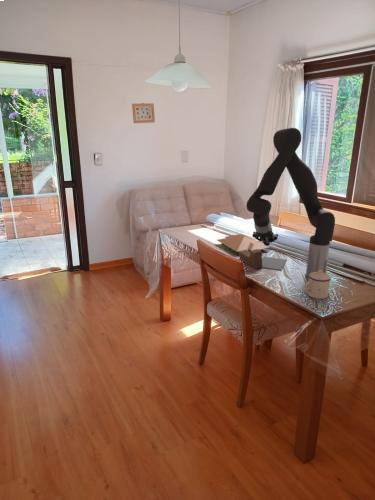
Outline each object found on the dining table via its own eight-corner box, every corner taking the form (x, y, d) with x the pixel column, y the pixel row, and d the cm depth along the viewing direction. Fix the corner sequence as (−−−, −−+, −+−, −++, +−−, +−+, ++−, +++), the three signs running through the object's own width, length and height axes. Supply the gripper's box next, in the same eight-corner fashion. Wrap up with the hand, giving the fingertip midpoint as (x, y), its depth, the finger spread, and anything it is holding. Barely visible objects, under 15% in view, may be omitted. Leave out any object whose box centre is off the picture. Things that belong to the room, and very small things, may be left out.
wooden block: (261, 251, 190) (245, 241, 206) (253, 253, 188) (238, 243, 205) (262, 267, 193) (246, 256, 209) (255, 269, 192) (239, 258, 208)
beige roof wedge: (239, 258, 209) (239, 244, 207) (213, 242, 238) (213, 230, 236) (272, 253, 218) (273, 240, 215) (244, 239, 247) (244, 227, 244)
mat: (286, 260, 205) (286, 259, 205) (281, 270, 190) (281, 269, 190) (263, 257, 210) (263, 256, 210) (256, 266, 195) (256, 266, 195)
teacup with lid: (318, 289, 167) (321, 265, 164) (333, 297, 159) (336, 272, 156) (297, 293, 163) (299, 269, 159) (311, 302, 155) (314, 276, 151)
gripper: (278, 221, 172) (281, 239, 186) (251, 218, 177) (255, 236, 191) (275, 234, 169) (278, 252, 183) (247, 231, 174) (252, 249, 188)
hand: (266, 244), depth 187 cm, fingers closed
